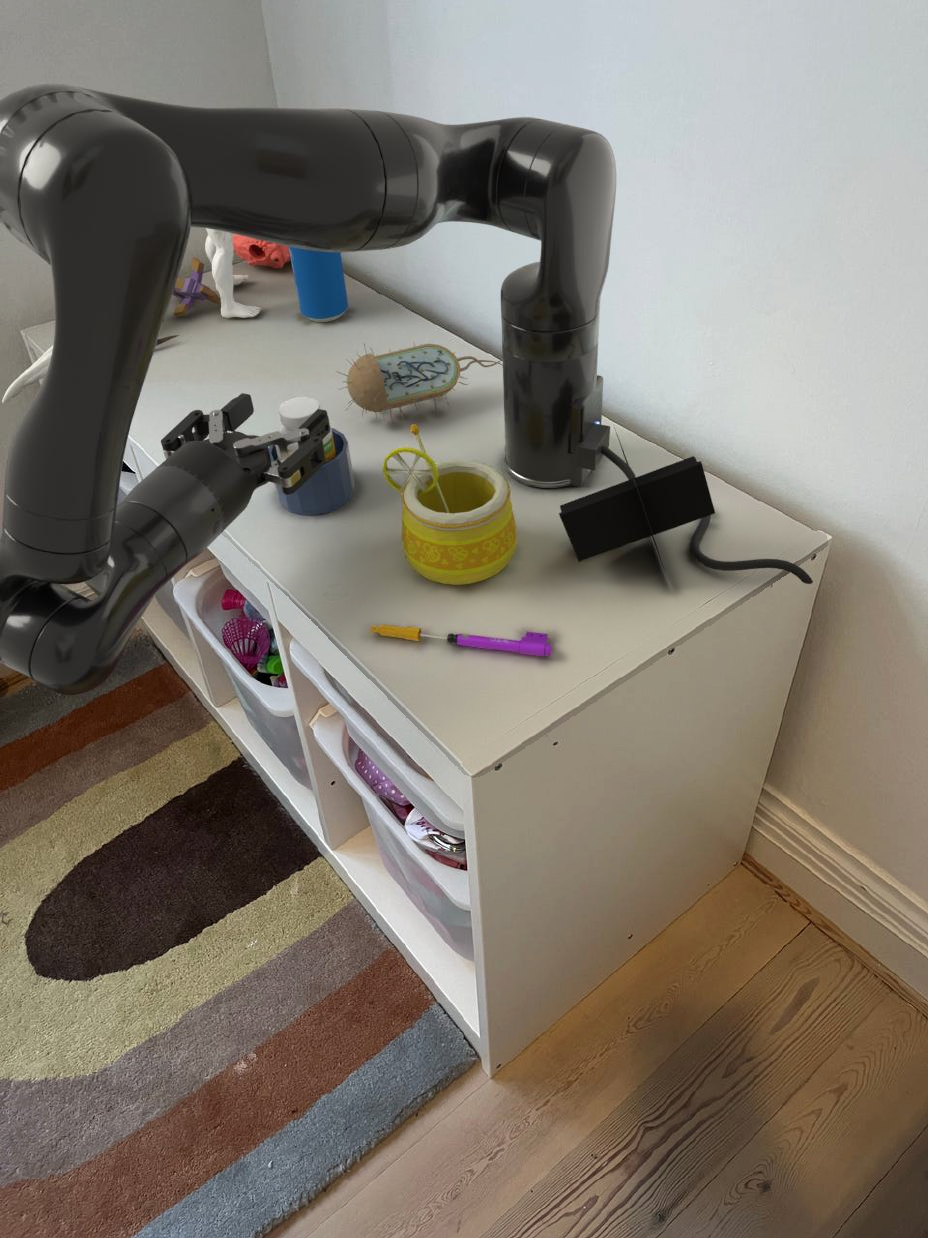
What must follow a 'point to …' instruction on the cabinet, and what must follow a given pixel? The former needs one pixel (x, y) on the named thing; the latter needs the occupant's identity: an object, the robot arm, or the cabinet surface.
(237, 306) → the male figure
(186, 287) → the toy figure
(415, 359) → the bacterium
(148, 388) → the cabinet surface
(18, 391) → the animal skull
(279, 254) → the heart organ
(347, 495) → the canister
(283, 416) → the supplement bottle
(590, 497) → the extrusion
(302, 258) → the beverage can
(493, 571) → the yellow cocktail cup
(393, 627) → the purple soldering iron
